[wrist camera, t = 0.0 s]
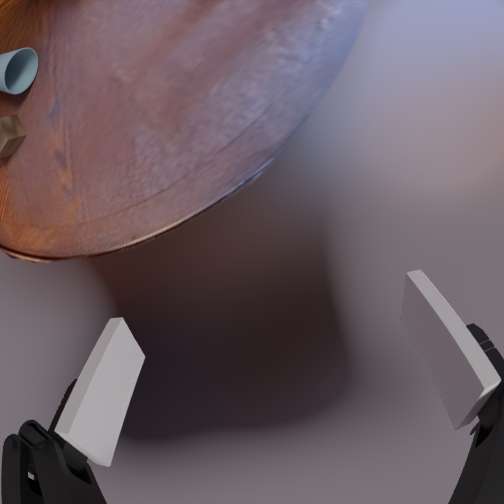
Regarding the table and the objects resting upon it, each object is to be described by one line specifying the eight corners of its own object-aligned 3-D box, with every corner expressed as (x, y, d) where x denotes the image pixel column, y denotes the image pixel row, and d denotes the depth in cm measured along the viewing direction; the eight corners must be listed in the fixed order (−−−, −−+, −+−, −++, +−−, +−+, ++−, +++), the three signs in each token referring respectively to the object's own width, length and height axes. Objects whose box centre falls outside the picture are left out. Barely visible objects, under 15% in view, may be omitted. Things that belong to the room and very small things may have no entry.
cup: (8, 46, 24) (41, 44, 25) (5, 84, 29) (36, 86, 30) (-24, 56, 18) (6, 52, 19) (-25, 98, 23) (3, 100, 24)
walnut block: (4, 134, 32) (-15, 139, 28) (16, 114, 31) (-3, 118, 26) (14, 153, 34) (-5, 160, 30) (27, 134, 33) (8, 139, 28)
